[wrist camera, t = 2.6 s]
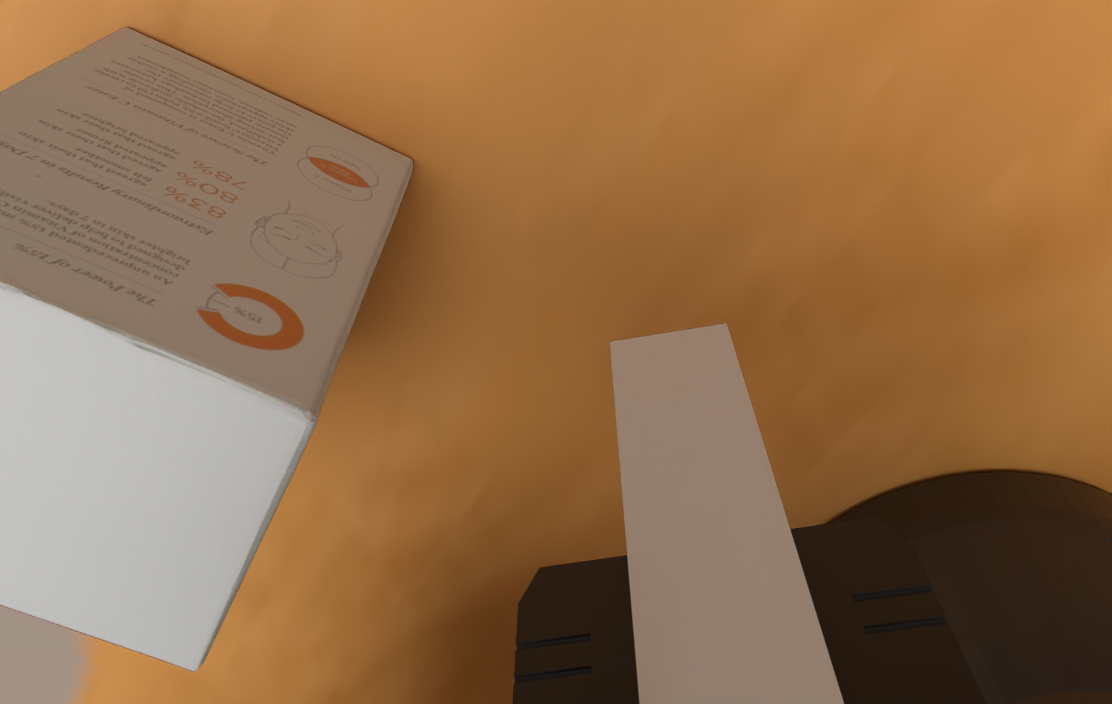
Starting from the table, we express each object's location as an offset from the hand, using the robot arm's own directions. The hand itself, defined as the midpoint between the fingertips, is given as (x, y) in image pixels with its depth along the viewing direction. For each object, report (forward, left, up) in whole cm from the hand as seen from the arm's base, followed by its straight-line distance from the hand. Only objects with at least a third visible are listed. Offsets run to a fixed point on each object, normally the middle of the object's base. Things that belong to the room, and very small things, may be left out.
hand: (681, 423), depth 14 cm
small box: (0, +11, -15) cm, 19 cm away
